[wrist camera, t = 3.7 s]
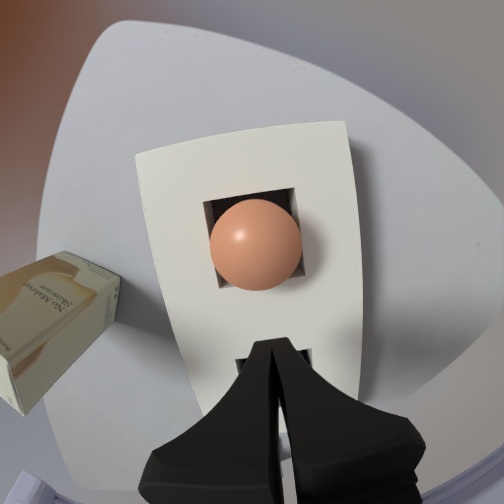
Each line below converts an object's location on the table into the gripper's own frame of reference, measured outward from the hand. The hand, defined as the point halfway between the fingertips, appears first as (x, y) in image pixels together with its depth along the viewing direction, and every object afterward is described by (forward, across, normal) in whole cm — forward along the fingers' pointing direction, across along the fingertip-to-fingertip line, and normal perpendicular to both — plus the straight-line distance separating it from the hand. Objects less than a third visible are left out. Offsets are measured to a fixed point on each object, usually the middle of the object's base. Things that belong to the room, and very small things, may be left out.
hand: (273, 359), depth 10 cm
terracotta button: (+7, 0, -4) cm, 8 cm away
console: (+9, 0, +1) cm, 9 cm away
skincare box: (+9, +14, -2) cm, 17 cm away
